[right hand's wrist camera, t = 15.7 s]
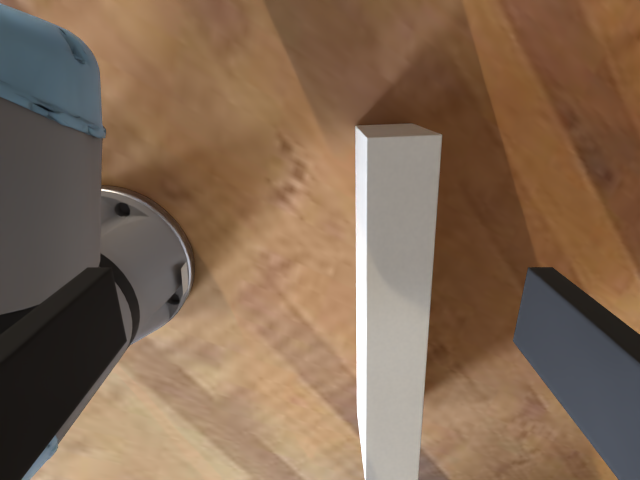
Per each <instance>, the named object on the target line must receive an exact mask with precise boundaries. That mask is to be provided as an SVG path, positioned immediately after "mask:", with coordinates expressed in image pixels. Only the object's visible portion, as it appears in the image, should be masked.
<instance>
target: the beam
mask: <svg viewBox="0 0 640 480" xmlns="http://www.w3.org/2000/svg"><path fill="white" fill-rule="evenodd" d="M355 142H356V308H357V415H358V423H359V432H360V441H361V449H362V458H363V467H364V476H365V480H418V475H419V461H420V446H421V432H422V418H423V404H424V389H425V375H426V361H427V346H428V332H429V318H430V303H431V289H432V275H433V261H434V246H435V232H436V218H437V203H438V189H439V175H440V160H441V146H442V134H439V133H436V132H434V131H431V130H429V129H426V128H423V127H421V126H418V125H415V124H413V123H408V124H383V125H357V126H355Z"/></svg>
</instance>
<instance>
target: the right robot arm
mask: <svg viewBox="0 0 640 480" xmlns="http://www.w3.org/2000/svg"><path fill="white" fill-rule="evenodd" d="M105 136H106V129H105V128H104V126H103V125H102V108H101V87H100V71H99V67H98V63H97V61H96V58H95V57H94V55H93V53H92V51H91V50H90V49H89V48H88V46H87V45H86V44H85V43H84V42H83V41H82V40H81V39H80V38H78V37H77V36H75V35H74V34H73V33H71V32H70V31H68V30H66V29H64V28H62V27H59V26H57V25H55V24H52V23H50V22H47V21H45V20H43V19H40V18H38V17H35V16H32V15H30V14H27V13H25V12H22V11H19V10H17V9H14V8H12V7H9V6H6V5H3V4H1V3H0V480H30V479H31V478H32V476H33V475H34V474H35V473H36V472H37V471H38V470H39V469H40V468H41V466H42V465H43V464H44V463H45V462H46V461H47V460H48V459H50V458H51V457H52V455H53V454H54V453H55V452H56V451H57V448H58V444H59V442H60V441H61V440H62V438H63V437H64V435H65V434H66V433H67V431H68V430H69V429H70V427H71V426H72V424H73V423H74V422H75V420H76V419H77V418H78V416H79V415H80V413H81V412H82V411H83V409H84V408H85V406H86V405H87V404H88V402H89V401H90V400H91V398H92V397H93V395H94V394H95V393H96V391H97V390H98V389H99V387H100V386H101V384H102V383H103V382H104V380H105V379H106V377H107V376H108V375H109V373H110V372H111V371H112V369H113V368H114V366H115V365H116V364H117V362H118V361H119V360H120V358H121V357H122V355H123V354H124V353H125V351H126V350H127V348H128V347H129V346H130V345H131V344H133V343H135V342H136V341H138V340H140V339H142V338H143V337H145V336H147V335H149V334H150V333H152V332H154V331H155V330H157V329H159V328H160V327H162V326H163V325H165V324H166V323H167V322H168V321H170V320H171V319H172V318H173V317H174V316H175V315H176V314H177V313H178V311H179V310H180V309H181V307H182V305H183V304H184V302H185V301H186V299H187V297H188V295H189V293H190V291H191V288H192V285H193V281H194V273H195V266H194V257H193V253H192V249H191V247H190V244H189V242H188V239H187V237H186V235H185V234H184V232H183V230H182V229H181V227H180V226H179V224H178V223H177V222H176V221H175V220H174V218H173V217H172V216H171V215H170V214H169V213H168V212H167V211H166V210H164V209H163V208H162V207H161V206H160V205H158V204H157V203H155V202H154V201H152V200H151V199H149V198H147V197H145V196H143V195H141V194H139V193H137V192H134V191H131V190H128V189H125V188H121V187H115V186H106V185H101V164H102V138H105ZM513 342H514V343H515V344H516V346H517V347H518V348H519V350H520V351H521V352H522V354H523V355H524V356H525V358H526V359H527V360H528V361H529V363H530V364H531V365H532V367H533V368H534V369H535V371H536V372H537V373H538V375H539V376H540V377H541V379H542V380H543V381H544V382H545V384H546V385H547V386H548V388H549V389H550V390H551V392H552V393H553V394H554V396H555V397H556V398H557V400H558V401H559V402H560V403H561V405H562V406H563V407H564V409H565V410H566V411H567V413H568V414H569V415H570V417H571V418H572V419H573V420H574V422H575V423H576V424H577V426H578V427H579V428H580V430H581V431H582V432H583V434H584V435H585V436H586V438H587V439H588V440H589V441H590V443H591V444H592V445H593V447H594V448H595V449H596V451H597V452H598V453H599V455H600V456H601V457H602V459H603V460H604V461H605V462H606V464H607V465H608V466H609V468H610V469H611V470H612V472H613V473H614V474H615V476H616V477H617V478H618V480H640V335H639V334H638V333H637V332H636V331H634V330H633V329H632V328H630V327H629V326H628V325H626V324H625V323H624V322H623V321H621V320H620V319H619V318H617V317H616V316H615V315H614V314H612V313H611V312H610V311H608V310H607V309H606V308H604V307H603V306H602V305H601V304H599V303H598V302H597V301H595V300H594V299H593V298H591V297H590V296H589V295H588V294H586V293H585V292H584V291H582V290H581V289H580V288H579V287H577V286H576V285H575V284H573V283H572V282H571V281H569V280H568V279H567V278H566V277H564V276H563V275H562V274H560V273H559V272H558V271H556V270H555V269H554V268H553V267H528V271H527V275H526V280H525V285H524V290H523V295H522V300H521V304H520V309H519V314H518V319H517V324H516V329H515V333H514V338H513Z"/></svg>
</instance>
